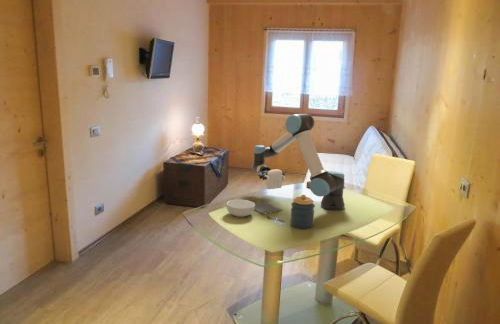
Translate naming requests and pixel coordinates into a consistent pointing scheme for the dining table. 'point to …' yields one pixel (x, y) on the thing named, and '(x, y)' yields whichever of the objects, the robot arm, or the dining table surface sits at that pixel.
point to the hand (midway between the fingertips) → (277, 179)
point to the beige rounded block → (274, 179)
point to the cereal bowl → (240, 207)
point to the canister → (302, 212)
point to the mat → (265, 207)
